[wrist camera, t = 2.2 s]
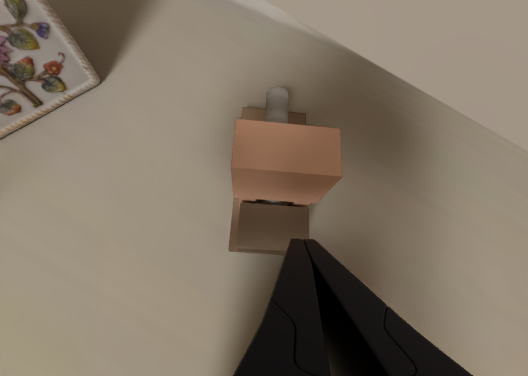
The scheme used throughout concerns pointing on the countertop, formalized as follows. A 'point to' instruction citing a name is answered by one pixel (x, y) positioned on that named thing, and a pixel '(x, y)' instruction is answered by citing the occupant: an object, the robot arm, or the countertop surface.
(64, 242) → the countertop surface
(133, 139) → the countertop surface
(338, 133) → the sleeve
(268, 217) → the pipe stand
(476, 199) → the countertop surface
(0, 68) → the decorative jar
